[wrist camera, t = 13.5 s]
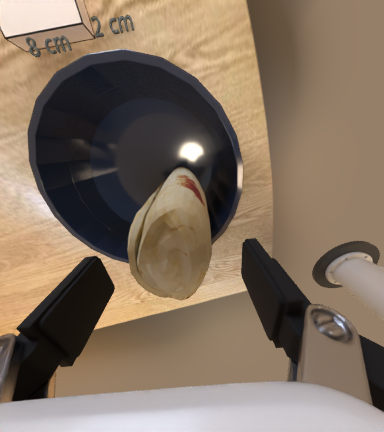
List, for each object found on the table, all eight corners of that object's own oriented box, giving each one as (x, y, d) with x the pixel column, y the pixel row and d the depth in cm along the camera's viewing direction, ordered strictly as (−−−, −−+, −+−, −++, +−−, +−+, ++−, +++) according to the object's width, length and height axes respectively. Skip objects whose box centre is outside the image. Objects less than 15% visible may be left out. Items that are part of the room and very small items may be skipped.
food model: (195, 213, 29) (211, 319, 11) (163, 211, 28) (123, 319, 10) (200, 163, 25) (241, 200, 7) (162, 160, 24) (94, 190, 6)
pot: (221, 82, 20) (248, 30, 11) (224, 225, 31) (239, 256, 22) (60, 105, 21) (-36, 71, 12) (117, 238, 31) (89, 273, 22)
